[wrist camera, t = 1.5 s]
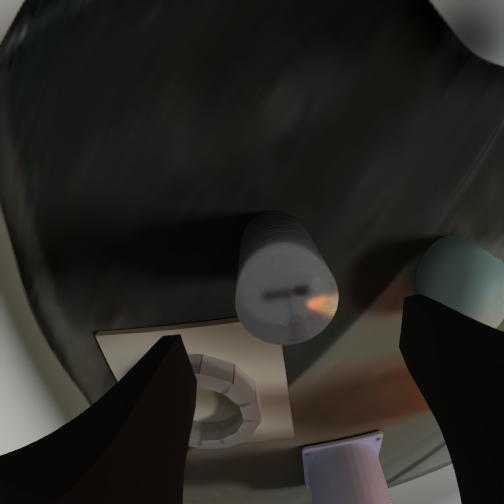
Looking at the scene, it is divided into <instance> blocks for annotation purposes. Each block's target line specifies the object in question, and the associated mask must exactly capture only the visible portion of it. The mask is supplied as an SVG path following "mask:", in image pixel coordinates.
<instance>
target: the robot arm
mask: <svg viewBox="0 0 504 504" xmlns="http://www.w3.org/2000/svg"><path fill="white" fill-rule="evenodd" d="M399 348H400V351H401V353H402V356H403V358H404V361H405V363H406V365H407V368H408V370H409V372H410V374H411V376H412V377H413V379H414V381H415V383H416V384H417V386H418V388H419V390H420V392H421V393H422V395H423V397H424V399H425V400H426V402H427V404H428V406H429V407H430V409H431V411H432V413H433V415H434V416H435V418H436V420H437V422H438V425H439V427H440V429H441V431H442V434H443V437H444V440H445V442H446V445H447V448H448V451H449V454H450V457H451V460H452V464H453V467H454V470H455V474H456V478H457V483H458V487H459V492H460V496H461V503H462V504H504V332H503V331H500V330H497V329H495V328H493V327H490V326H488V325H486V324H483V323H481V322H479V321H477V320H475V319H473V318H470V317H468V316H466V315H464V314H462V313H460V312H458V311H456V310H454V309H452V308H450V307H448V306H446V305H444V304H442V303H440V302H438V301H436V300H434V299H431V298H429V297H427V296H424V295H422V294H417V295H413V296H409V297H404V304H403V316H402V326H401V335H400V343H399ZM196 395H197V379H196V376H195V373H194V371H193V368H192V365H191V363H190V360H189V357H188V354H187V351H186V349H185V346H184V343H183V340H182V337H181V334H177V335H166V336H162V337H161V338H160V339H159V340H158V341H157V342H156V343H155V344H154V345H153V346H152V347H151V348H150V349H149V350H148V351H147V352H146V353H145V355H144V356H143V357H142V358H141V359H140V360H139V361H138V362H137V363H136V364H135V365H134V366H133V367H132V368H131V369H130V370H129V371H128V372H127V374H126V375H125V376H124V377H122V378H121V379H120V380H119V381H118V382H117V383H116V384H115V385H114V386H113V387H112V388H111V389H110V390H109V391H108V392H107V393H106V394H105V395H103V396H102V397H101V398H100V399H99V400H98V401H97V402H95V403H94V404H93V405H92V406H90V407H89V408H88V409H86V410H85V411H84V412H83V413H81V414H80V415H79V416H77V417H76V418H74V419H73V420H71V421H70V422H68V423H66V424H65V425H63V426H62V427H60V428H59V429H57V430H56V431H54V432H53V433H51V434H49V435H47V436H45V437H43V438H41V439H39V440H37V441H35V442H33V443H31V444H29V445H27V446H25V447H22V448H20V449H17V450H15V451H12V452H9V453H7V454H4V455H1V456H0V504H183V479H184V468H185V461H186V456H187V450H188V445H189V440H190V435H191V430H192V424H193V419H194V414H195V408H196ZM382 438H383V432H382V431H377V432H373V433H369V434H365V435H361V436H357V437H352V438H348V439H343V440H339V441H334V442H329V443H324V444H318V445H312V446H306V447H304V448H302V458H303V468H304V477H305V487H306V488H307V489H311V495H312V502H313V504H392V500H391V497H390V494H389V490H388V487H387V484H386V481H385V478H384V474H383V471H382V468H381V465H380V462H379V459H378V455H379V451H380V447H381V443H382Z"/></svg>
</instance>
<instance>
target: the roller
mask: <svg viewBox="0 0 504 504" xmlns="http://www.w3.org/2000/svg"><path fill="white" fill-rule="evenodd" d="M415 285H416V290H417V293H418V294H422V295H424V296H427V297H429V298H431V299H434V300H436V301H438V302H440V303H442V304H444V305H446V306H448V307H450V308H452V309H454V310H456V311H458V312H460V313H462V314H464V315H466V316H468V317H470V318H473V319H475V320H477V321H479V322H481V323H483V324H486V325H488V326H490V327H493V328H495V329H496V328H497V327H498V326H499V325H500V323H501V322H502V321H503V319H504V263H503V262H502V261H500V260H499V259H497V258H496V257H494V256H493V255H491V254H490V253H488V252H486V251H485V250H483V249H482V248H480V247H479V246H477V245H475V244H474V243H472V242H470V241H469V240H467V239H465V238H464V237H462V236H459V235H448V236H444V237H442V238H440V239H438V240H437V241H435V242H434V243H433V244H432V245H431V246H430V247H429V248H428V249H427V250H426V252H425V253H424V254H423V256H422V258H421V260H420V262H419V264H418V267H417V271H416V277H415Z"/></svg>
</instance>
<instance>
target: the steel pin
mask: <svg viewBox="0 0 504 504" xmlns="http://www.w3.org/2000/svg"><path fill="white" fill-rule="evenodd" d="M337 305H338V288H337V284H336V282H335V280H334V277H333V276H332V274H331V272H330V270H329V269H328V267H327V265H326V263H325V262H324V260H323V258H322V256H321V255H320V253H319V251H318V249H317V248H316V246H315V244H314V243H313V241H312V239H311V237H310V236H309V234H308V232H307V231H306V229H305V227H304V226H303V224H302V223H301V222H300V221H299V220H298V219H297V218H296V217H294V216H293V215H291V214H288V213H286V212H281V211H269V212H265V213H262V214H260V215H258V216H256V217H255V218H253V219H252V220H251V221H250V222H249V223H248V224H247V226H246V227H245V229H244V231H243V233H242V236H241V242H240V253H239V264H238V276H237V287H236V300H235V306H236V312H237V315H238V318H239V320H240V322H241V323H242V325H243V326H244V328H245V329H246V330H247V331H248V332H249V333H250V334H252V335H253V336H254V337H256V338H258V339H260V340H262V341H264V342H267V343H271V344H277V345H291V344H296V343H300V342H303V341H306V340H308V339H311V338H312V337H314V336H316V335H317V334H318V333H320V332H321V331H322V330H323V329H324V328H325V327H326V326H327V325H328V324H329V323H330V321H331V320H332V318H333V316H334V314H335V312H336V309H337Z"/></svg>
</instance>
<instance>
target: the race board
mask: <svg viewBox="0 0 504 504" xmlns="http://www.w3.org/2000/svg"><path fill="white" fill-rule="evenodd" d="M177 334H181V337H182V340H183V343H184V346H185V349H186V351H187V354H188V357H189V360H190V363H191V365H192V368H193V371H194V373H195V376H196V379H197V395H196V408H195V414H194V419H193V424H192V430H191V435H190V440H189V445H188V446H191V447H195V448H200V449H209V448H227V447H231V446H233V445H235V444H238V443H246V442H257V441H267V440H275V439H283V438H290V437H294V429H293V422H292V415H291V408H290V401H289V393H288V386H287V379H286V372H285V366H284V359H283V352H282V345H277V344H271V343H267V342H264V341H262V340H260V339H258V338H256V337H254V336H253V335H252V334H250V333H249V332H248V331H247V330H246V329H245V328H244V326H243V325H242V323H241V322H240V320H239V318H238V317H236V318H229V319H221V320H213V321H205V322H196V323H187V324H178V325H169V326H159V327H148V328H137V329H125V330H113V331H99V332H98V333H97V334H96V339H97V341H98V343H99V345H100V347H101V349H102V351H103V354H104V356H105V358H106V360H107V362H108V364H109V366H110V368H111V370H112V372H113V374H114V376H115V378H116V380H117V381H119V380H120V379H121V378H122V377H124V376H125V375H126V374H127V372H128V371H129V370H130V369H131V368H132V367H133V366H134V365H135V364H136V363H137V362H138V361H139V360H140V359H141V358H142V357H143V356H144V355H145V353H146V352H147V351H148V350H149V349H150V348H151V347H152V346H153V345H154V344H155V343H156V342H157V341H158V340H159V339H160V338H161V337H162V336H166V335H177Z"/></svg>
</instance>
